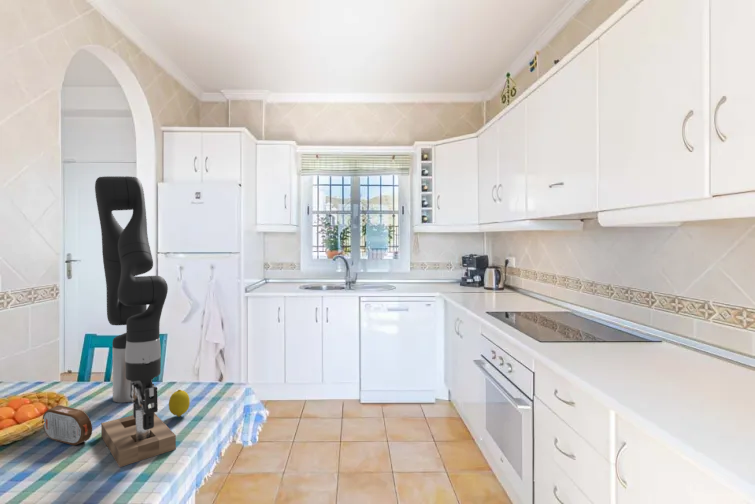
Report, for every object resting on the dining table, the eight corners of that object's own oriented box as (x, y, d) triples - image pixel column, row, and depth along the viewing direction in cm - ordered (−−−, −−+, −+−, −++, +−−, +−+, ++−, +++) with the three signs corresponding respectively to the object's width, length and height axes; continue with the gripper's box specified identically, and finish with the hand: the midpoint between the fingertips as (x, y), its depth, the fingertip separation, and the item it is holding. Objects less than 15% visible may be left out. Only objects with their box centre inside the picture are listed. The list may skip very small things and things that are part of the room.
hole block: (101, 436, 106) (101, 423, 106) (151, 422, 115) (151, 410, 115) (119, 467, 92) (119, 452, 92) (175, 449, 100) (175, 435, 100)
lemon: (181, 421, 116) (181, 393, 115) (164, 419, 117) (164, 392, 116) (193, 413, 121) (193, 387, 121) (177, 411, 122) (177, 385, 122)
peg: (134, 449, 100) (134, 409, 99) (147, 445, 102) (147, 406, 102) (137, 454, 98) (137, 413, 97) (151, 450, 100) (151, 410, 99)
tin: (93, 443, 103) (93, 410, 103) (80, 449, 100) (80, 415, 100) (53, 433, 108) (52, 402, 107) (39, 439, 105) (39, 406, 104)
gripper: (118, 354, 102) (118, 417, 102) (133, 367, 92) (133, 438, 92) (151, 348, 107) (151, 409, 107) (169, 360, 97) (169, 427, 97)
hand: (143, 422), depth 100 cm, fingers open, 8 cm apart
